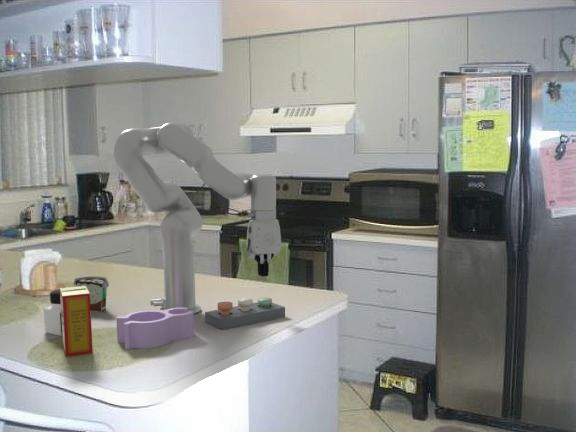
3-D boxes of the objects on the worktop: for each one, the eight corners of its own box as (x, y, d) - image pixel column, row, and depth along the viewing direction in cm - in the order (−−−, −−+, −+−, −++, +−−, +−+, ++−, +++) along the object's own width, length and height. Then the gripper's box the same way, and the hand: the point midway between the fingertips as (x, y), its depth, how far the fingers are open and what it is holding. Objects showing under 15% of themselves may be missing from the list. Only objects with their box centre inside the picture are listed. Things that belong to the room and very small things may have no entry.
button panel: (222, 329, 188) (222, 319, 187) (205, 322, 196) (204, 312, 195) (285, 316, 200) (285, 307, 200) (266, 309, 208) (266, 300, 208)
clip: (182, 328, 190) (181, 304, 190) (200, 339, 180) (199, 314, 179) (114, 340, 180) (113, 315, 179) (128, 352, 170) (127, 326, 169)
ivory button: (243, 317, 195) (242, 302, 194) (235, 314, 198) (235, 299, 198) (255, 314, 197) (255, 300, 197) (247, 311, 201) (247, 297, 200)
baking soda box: (92, 353, 169) (89, 291, 167) (65, 356, 166) (62, 294, 164) (88, 342, 177) (85, 284, 175) (62, 345, 175) (59, 286, 173)
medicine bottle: (61, 336, 183) (59, 294, 181) (44, 332, 187) (42, 291, 185) (81, 330, 189) (79, 289, 187) (65, 326, 193) (62, 286, 191)
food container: (118, 308, 212) (116, 277, 211) (105, 313, 207) (104, 281, 205) (88, 304, 217) (86, 274, 216) (75, 309, 212) (73, 278, 211)
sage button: (263, 316, 199) (262, 301, 198) (255, 313, 203) (254, 299, 202) (275, 314, 202) (274, 299, 201) (266, 311, 205) (266, 296, 205)
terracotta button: (222, 321, 191) (222, 306, 190) (215, 318, 194) (214, 303, 194) (235, 318, 193) (235, 303, 193) (228, 315, 197) (227, 300, 196)
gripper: (249, 218, 191) (249, 281, 193) (290, 215, 200) (290, 274, 202) (235, 216, 197) (235, 276, 199) (276, 212, 206) (276, 270, 208)
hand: (263, 275), depth 201 cm, fingers closed
